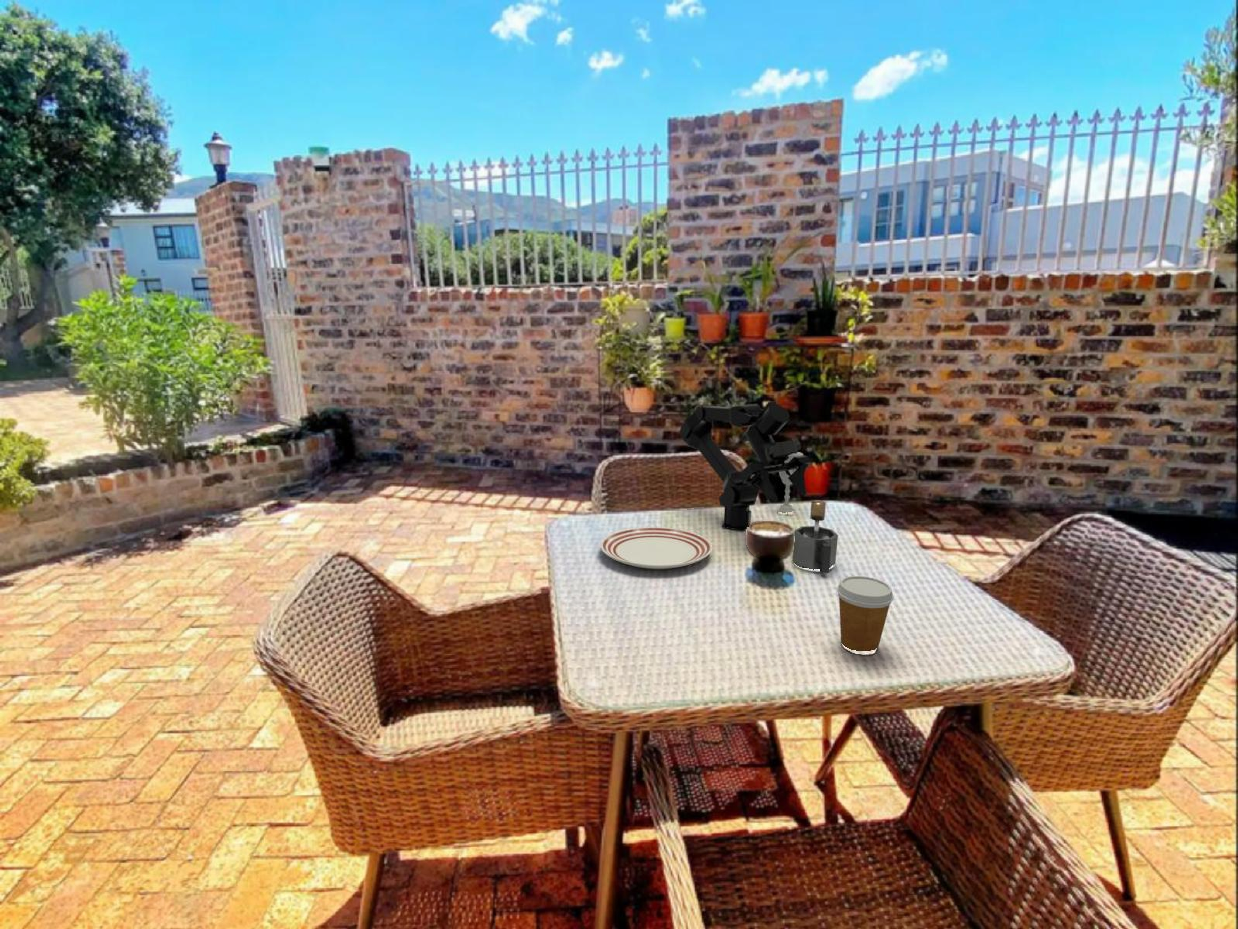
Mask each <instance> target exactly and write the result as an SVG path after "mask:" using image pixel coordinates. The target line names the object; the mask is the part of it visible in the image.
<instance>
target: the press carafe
mask: <svg viewBox="0 0 1238 929" xmlns="http://www.w3.org/2000/svg"><path fill="white" fill-rule="evenodd" d="M793 532H794V533H793V534H794V535H793V537H794V536H795V542H794V541H793V546H794V550H793V549H792V561H794V563H795V564H796V565H797V566H799V567H802V568H809V569H813V570H814V569H820V572H819V573H821V574H829V573H830V571H829V568H830V567H831V566H832V565H834V564H835V565H836V560H837V548H838V540H839V539H838V538H839V535H838V534H837V532H835V531H834V530H833V529H830V528H828V527H827V528H826V527H822V526H819V531H818V539H814V538H813V537H814V525H812V526H811V525H806V526H805V525H804V526H800V527H798V528H797V529H794V531H793ZM792 561H791V562H792ZM794 563H793V564H794Z"/></svg>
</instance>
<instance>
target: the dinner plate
mask: <svg viewBox="0 0 1238 929" xmlns="http://www.w3.org/2000/svg"><path fill="white" fill-rule="evenodd" d="M599 546H600V550H601V551H602V552H603V554H605V555H606V556H607V557H609V558H610V559H612V560H614V561H617V562H619V563H622V564H625V565H629V566H632V567H636V568H641V569H647V570H668V569H674V568H681V567H684V566H689V565H691V564H695V563H698V562H700V561H702V560H703V559H705V558H706V557H708V556H709V555H710V554H711V553H712V551H713V544H712V542H710V540H709V539H708V538H706V537H704V536H702V535H700V534H698V533H695V532H692V531H689V530H685V529H681V528H674V527H673V528H672V527H663V526H645V527H643V526H642V527H632V528H628V529H627V528H626V529H621V530H618V531H614V532H611V533H610V534H608V535H606V536H605V537H604V538H602V540H601V541H600V545H599Z"/></svg>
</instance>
